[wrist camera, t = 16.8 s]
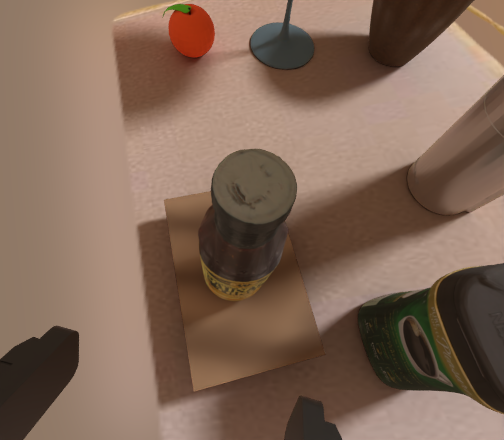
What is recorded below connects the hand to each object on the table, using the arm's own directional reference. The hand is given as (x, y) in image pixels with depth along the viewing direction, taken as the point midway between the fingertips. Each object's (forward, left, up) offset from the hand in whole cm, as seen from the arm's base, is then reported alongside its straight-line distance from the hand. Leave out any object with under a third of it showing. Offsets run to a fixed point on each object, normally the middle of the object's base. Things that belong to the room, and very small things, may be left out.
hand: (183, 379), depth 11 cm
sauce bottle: (0, -8, -20) cm, 22 cm away
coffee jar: (-19, -7, -24) cm, 32 cm away
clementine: (+17, -43, -24) cm, 52 cm away
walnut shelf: (0, -9, -24) cm, 26 cm away
